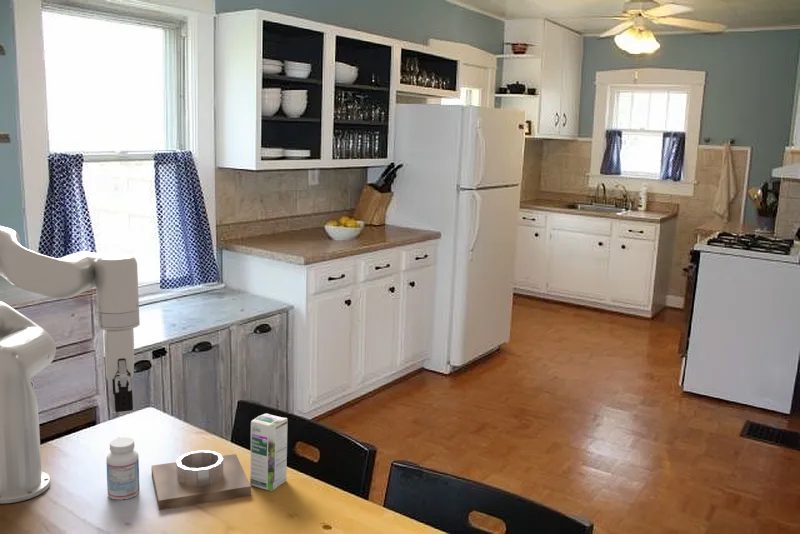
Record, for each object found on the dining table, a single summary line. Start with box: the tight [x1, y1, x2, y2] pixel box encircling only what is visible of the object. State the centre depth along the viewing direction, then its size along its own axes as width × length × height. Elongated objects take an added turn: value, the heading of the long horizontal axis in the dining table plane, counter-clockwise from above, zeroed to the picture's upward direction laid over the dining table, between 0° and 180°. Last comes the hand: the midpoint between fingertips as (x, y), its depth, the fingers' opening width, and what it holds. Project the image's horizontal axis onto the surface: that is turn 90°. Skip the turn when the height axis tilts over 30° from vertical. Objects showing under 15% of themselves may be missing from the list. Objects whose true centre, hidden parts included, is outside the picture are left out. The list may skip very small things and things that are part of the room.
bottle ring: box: [175, 449, 223, 486], centre depth 152 cm, size 9×9×4 cm
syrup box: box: [249, 413, 288, 492], centre depth 153 cm, size 6×6×14 cm
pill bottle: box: [105, 437, 141, 501], centre depth 146 cm, size 6×6×11 cm
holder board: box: [151, 453, 252, 511], centre depth 152 cm, size 18×16×2 cm
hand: (122, 402), depth 144 cm, fingers open, 9 cm apart
